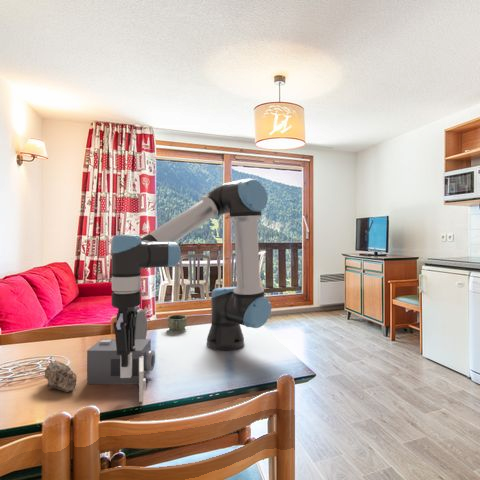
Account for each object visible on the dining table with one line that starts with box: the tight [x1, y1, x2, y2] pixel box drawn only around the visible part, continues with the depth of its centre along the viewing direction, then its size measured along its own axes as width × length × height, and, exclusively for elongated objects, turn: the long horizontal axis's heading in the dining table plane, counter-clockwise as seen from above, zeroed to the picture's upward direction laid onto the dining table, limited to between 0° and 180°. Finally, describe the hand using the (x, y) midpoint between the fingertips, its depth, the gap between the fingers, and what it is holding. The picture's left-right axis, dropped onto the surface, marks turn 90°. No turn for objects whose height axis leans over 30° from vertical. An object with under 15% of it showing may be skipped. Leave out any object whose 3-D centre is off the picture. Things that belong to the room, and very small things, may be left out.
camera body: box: [86, 338, 156, 385], centre depth 96 cm, size 18×10×11 cm, turn 91°
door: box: [138, 356, 147, 403], centre depth 86 cm, size 11×2×8 cm, turn 18°
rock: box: [43, 360, 78, 393], centre depth 90 cm, size 7×11×10 cm
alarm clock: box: [134, 306, 148, 339], centre depth 111 cm, size 16×10×18 cm, turn 178°
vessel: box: [166, 314, 188, 334], centre depth 144 cm, size 12×9×6 cm
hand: (126, 376), depth 85 cm, fingers closed
